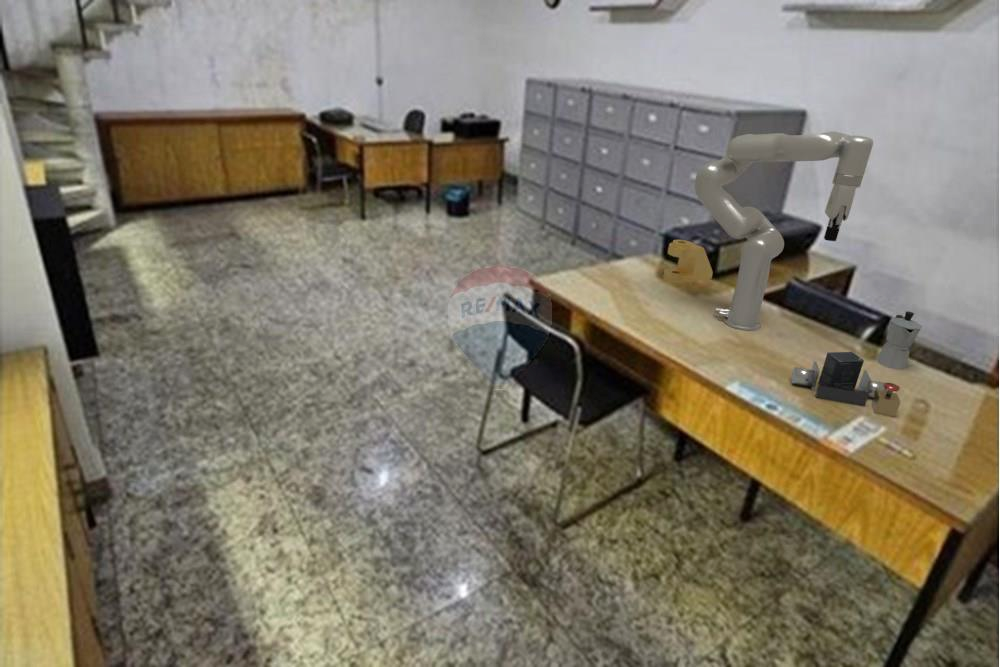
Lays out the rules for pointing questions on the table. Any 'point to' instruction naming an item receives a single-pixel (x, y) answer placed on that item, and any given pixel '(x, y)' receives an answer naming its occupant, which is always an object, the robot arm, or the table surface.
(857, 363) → the box
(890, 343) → the coffee maker
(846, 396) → the dark grey bracket shape
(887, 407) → the valve
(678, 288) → the table surface
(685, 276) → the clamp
